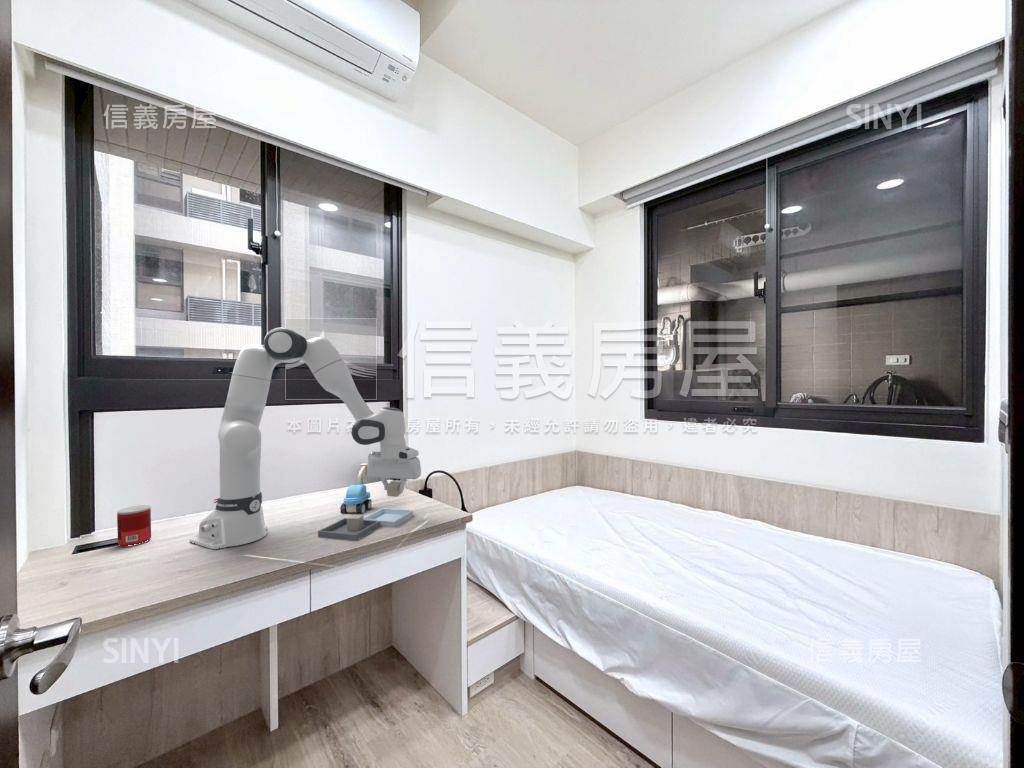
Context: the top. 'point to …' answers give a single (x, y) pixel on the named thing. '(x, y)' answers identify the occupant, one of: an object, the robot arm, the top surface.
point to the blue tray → (390, 516)
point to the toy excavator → (357, 495)
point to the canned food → (134, 525)
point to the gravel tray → (341, 532)
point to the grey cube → (393, 489)
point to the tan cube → (355, 522)
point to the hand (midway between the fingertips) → (394, 490)
